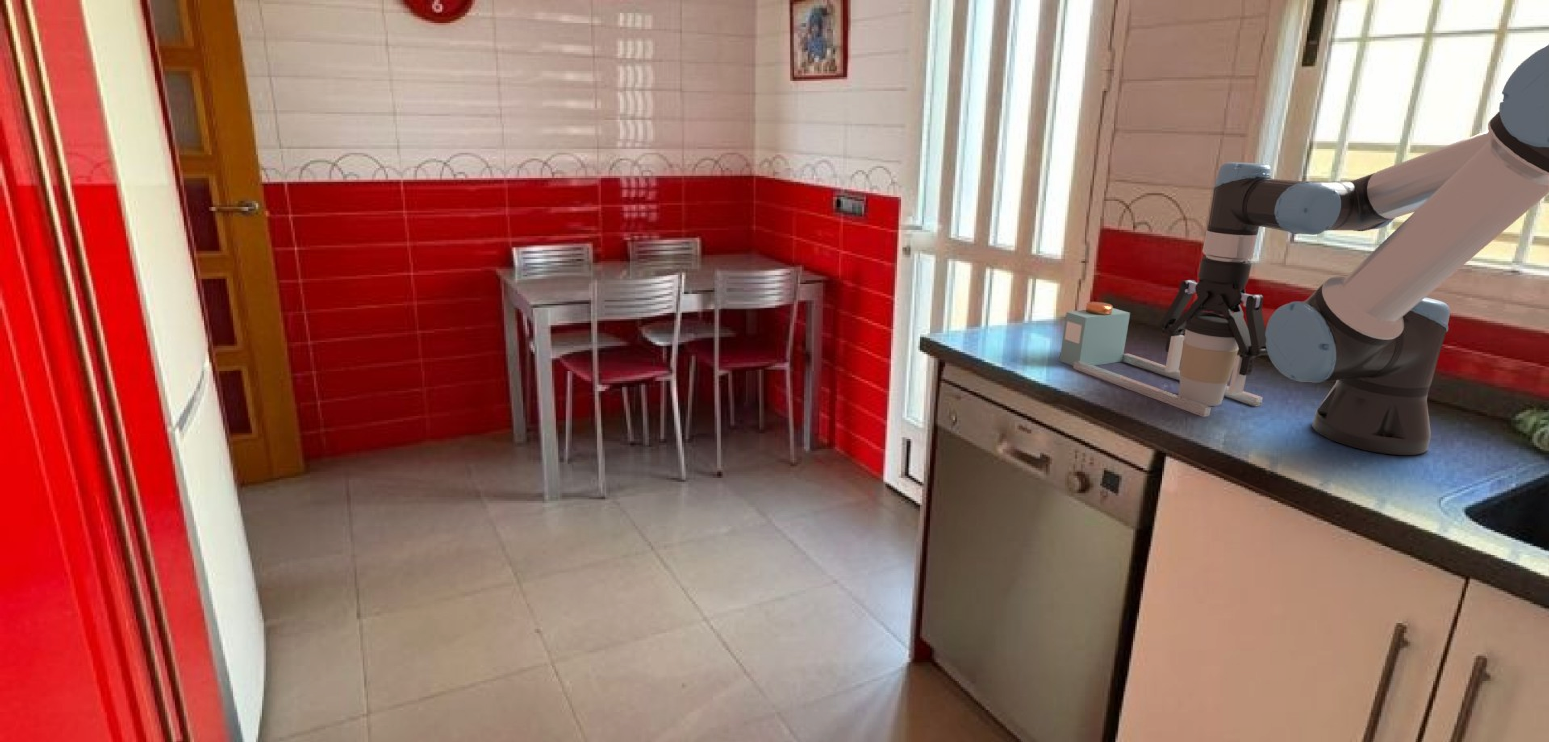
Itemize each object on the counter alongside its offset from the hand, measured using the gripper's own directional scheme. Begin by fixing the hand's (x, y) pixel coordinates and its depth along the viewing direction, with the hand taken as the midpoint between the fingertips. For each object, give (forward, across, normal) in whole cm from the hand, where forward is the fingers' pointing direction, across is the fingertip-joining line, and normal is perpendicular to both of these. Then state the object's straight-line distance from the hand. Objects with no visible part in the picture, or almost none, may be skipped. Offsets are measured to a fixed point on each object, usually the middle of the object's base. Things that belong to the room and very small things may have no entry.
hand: (1202, 381), depth 147 cm
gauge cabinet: (+3, +24, 0) cm, 25 cm away
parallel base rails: (+3, +8, 0) cm, 8 cm away
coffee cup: (+4, 0, 0) cm, 4 cm away
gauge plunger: (-2, +24, 0) cm, 25 cm away
